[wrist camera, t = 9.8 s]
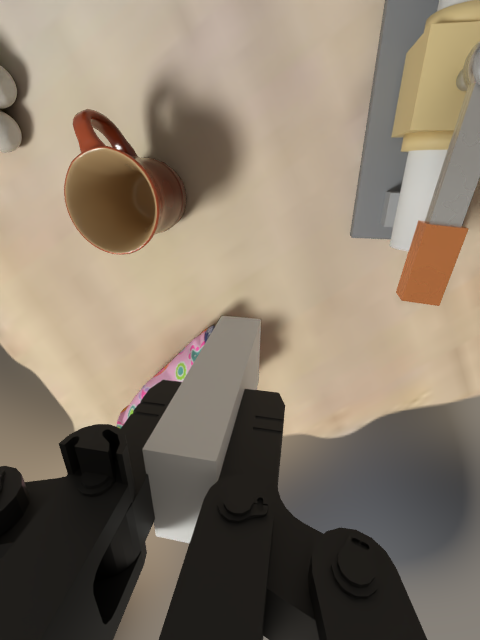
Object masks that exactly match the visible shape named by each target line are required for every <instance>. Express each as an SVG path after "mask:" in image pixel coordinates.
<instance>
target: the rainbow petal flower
mask: <svg viewBox="0 0 480 640" xmlns="http://www.w3.org/2000/svg"><path fill="white" fill-rule="evenodd" d="M16 97H17V89H16V85H15V82H14V80H13V78H12V77H11V75H10V74H9V73H8V72H7V71H6V70H5V69H4V68H3V67H2V66H0V109H3V108H7V107H9V106H11V105H12V104H13V103H14V102H15V100H16ZM21 140H22V135H21V131H20V128H19V126H18V124H17V123H16V122H15V120H14V119H12V118H11V117H10V116H9V115H7V114H6V113H4V112H2V111H0V152H12V151H14V150H16V149H17V148H18V147H19V146H20V144H21Z"/></svg>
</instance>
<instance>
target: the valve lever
mask: <svg viewBox="0 0 480 640" xmlns="http://www.w3.org/2000/svg"><path fill="white" fill-rule="evenodd" d="M463 81H464V84H465V86H466V88H467V91H466V94H465V97H464V101H463V104H462V107H461V110H460V113H459V116H458V119H457V122H456V125H455V129H454V132H453V135H452V138H451V141H450V144H449V147H448V150H447V154H446V157H445V160H444V163H443V166H442V169H441V172H440V175H439V178H438V182H437V185H436V188H435V191H434V194H433V197H432V200H431V203H430V207H429V210H428V213H427V216H426V219H425V221H420V220H418V223H417V227H416V230H415V233H414V236H413V239H412V243H411V246H410V249H409V252H408V255H407V259H406V262H405V265H404V268H403V271H402V275H401V278H400V281H399V284H398V287H397V291H396V293H397V294H398V296H399V297H400V299H401V300H402V301H409V302H416V303H423V304H430V305H437V306H439V305H440V302H441V300H442V297H443V295H444V292H445V289H446V287H447V284H448V281H449V279H450V276H451V274H452V271H453V268H454V266H455V263H456V260H457V258H458V255H459V253H460V250H461V247H462V245H463V242H464V239H465V237H466V234H467V232H468V228H465V227H462V223H463V221H464V218H465V215H466V213H467V210H468V207H469V205H470V202H471V199H472V196H473V194H474V191H475V188H476V186H477V183H478V180H479V178H480V41H479V42H478V43H477V44H476V45H475V46H474V47H473V48H472V50H471V51H470V53H469V54H468V56H467V58H466V60H465V63H464V67H463Z"/></svg>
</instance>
